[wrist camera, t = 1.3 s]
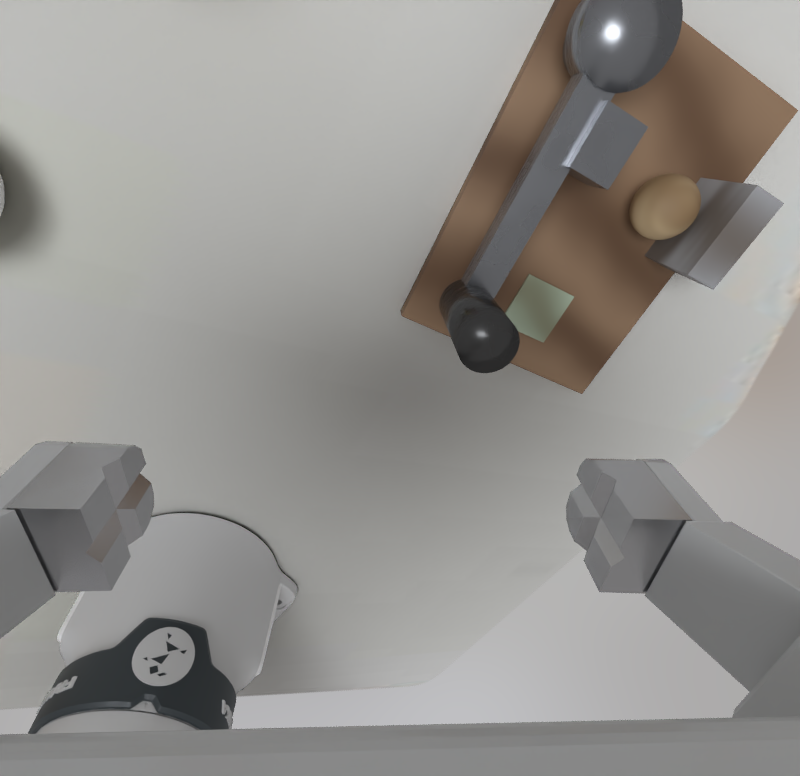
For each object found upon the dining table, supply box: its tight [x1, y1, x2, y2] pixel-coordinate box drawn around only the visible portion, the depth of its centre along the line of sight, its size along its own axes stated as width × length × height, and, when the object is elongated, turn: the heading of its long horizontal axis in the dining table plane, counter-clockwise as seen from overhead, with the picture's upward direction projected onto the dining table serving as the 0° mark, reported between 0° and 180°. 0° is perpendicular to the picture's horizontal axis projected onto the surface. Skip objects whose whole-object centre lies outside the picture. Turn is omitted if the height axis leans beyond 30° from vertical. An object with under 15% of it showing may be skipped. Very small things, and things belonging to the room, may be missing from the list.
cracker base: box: [401, 0, 798, 394], centre depth 26 cm, size 20×15×5 cm
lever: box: [439, 0, 683, 373], centre depth 21 cm, size 18×5×6 cm, turn 154°
